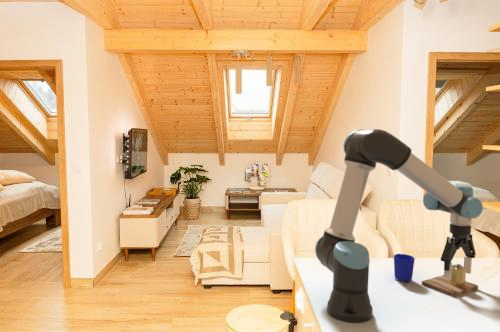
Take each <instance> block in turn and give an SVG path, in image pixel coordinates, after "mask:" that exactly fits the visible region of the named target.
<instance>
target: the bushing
mask: <svg viewBox="0 0 500 332" xmlns="http://www.w3.org/2000/svg"><path fill="white" fill-rule="evenodd" d="M455 266H456V264H452V275H451V279H450V281H449V282H450V284H452V285H454V286H461V287H462V286H465V281H466V275H467V273H466V268H465V267H464V265H461V269H460V268H455Z"/></svg>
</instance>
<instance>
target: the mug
mask: <svg viewBox="0 0 500 332" xmlns="http://www.w3.org/2000/svg"><path fill="white" fill-rule="evenodd" d="M415 260H416V259H415V257H414V256H413V255H410V254H403V253H397V254H394V255H393V268H394V269H393V270H394V279H396V280H397V281H399V282H403V283H404V282H405V283H407V282H411V281H412V279H413V275H414V267H415Z"/></svg>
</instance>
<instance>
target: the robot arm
mask: <svg viewBox="0 0 500 332" xmlns="http://www.w3.org/2000/svg"><path fill="white" fill-rule="evenodd" d="M343 152H344V154H345V156H344V159H343V162H344V164H345V165H346V168H345V171H344V175H343V179H342V182H341V185H340V190H339V193H338V196H337V197H338V198H337V200H336V204H335V207H334V211H333V215H332V218H331V221H330V222H331V223H330V224H329V225H330V226H329V227H327V228H325V229H324V231H323V235H322V236H321V237H319V239H318V240H317V241H316V243H315V246H314V247H315V249H314V251H315V252H314V253H315V255H316V258H317V260H318V261H319V262H320V264H321V265H322V266H323V267H325V268H327V269H328V270H329V271H330V272H331V273H332V274H333V277H332V280H333V281H332V291H331V293H330V296H329V299H328V301H327V304H326V305H327V309H326V310H327V313H328V315H330V316H331V317H333V318H334V319H336V320H339V321H343V322H347V323H363V322H367V321H370V320H371V319H372V317H373V305H372V304H371V299H370V296H369V274H370V272H369V271H370V269H369V268H370V252H369V250H368V248H367V247H366V246H365V245H363V244H361V243H360V242H359V243H357V242H355V241H356V238H355V236H354V234H353V232H354V230H355V229H354V228H355V226H356V222H357V218H358V215H359V212H360V208H361V204H362V201H363V197H364V193H365V190H366V186H367V182H368V179H369V176H370V173H371V172H372V171H374V170H375V169H376V165H377V164H381V165H384V166H385V167H386V168H388V169H390V170H392V171H397V172H399V173H400V174H401V175H403V176H405V178H407V179H409V180H410V181H411V182H413V183H414V184H415V185H416V186H418V187H419V188H420V189H422V190H424V191H425V192H424V194H423V198H422V199H423V200H422V203H423V206H424V207H425V209H426V210H427V211H428V210H429V211H441V212H444V213H448V214H450V216H449V217H450V218H449V222H450V223H449V233H451V234H452V235H451V237H450V236H447V237H446V242H445V245H444V248H443V251H442V254H441V256H440V261H442V262H443V275H444V278H447V279H451V275H452V265H453V262H452V260H453V259H454V257H455V255H456V253H457V251H458V250H460V248H461V249H462V251H463V253H464V255H465V256H464V257H463V267H465V268H466V274H470V275H471V273H472V261H473V259H475V257H476V255H477V253H476V250H475V245H474V241H473V234H472V220H473V219H476V218H478V217H480V216H481V214H482V212H483V203H482V201H481V200H480V199H479V198H477V197H474V189H473V187H472V186H470V185H464V184H463V185H461V184H458V185H455V184H453V183H451V182H450V181H449V180H448V179H446V178H445V177H444V176H443V175H441V174H440V173H438V172H437V171H436V170H435V169H433V168H432V167H430V166H429V165H428V164H427V163H425V161H423V160H421V159H420V158H419V157H417V156H416V155H415V154H413V152H412V148H411V147H410V146H408V145H407V144H406V143H405V142H403V141H402V140H401V139H399V138H397V137H396V136H395V135H393V134H392V133H390V132H388V131H386V130H384V129H379V128H378V129H377V128H374V129H365V128H363V129H358V130H354V131H352V132H351V133H349V134H348V135H347V136H346V138H345V139H344V143H343Z"/></svg>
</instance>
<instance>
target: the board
mask: <svg viewBox="0 0 500 332" xmlns="http://www.w3.org/2000/svg"><path fill="white" fill-rule="evenodd" d="M449 281H450V279H447V278H444V274H442V275H438V276H436V277H435V276H434V277H432V278H428V279H425V280H421V286H425V287H427V288H430V289H432V290H435V291H437V292H441V293H443V294H446V295H447V296H451V297H454V298H456V297H458V296H462V295H465V294H467V293H471V292H474V291H476V290H478V289H479V285H477V284H475V283H472V282H469V281H467V280H465V286H462V287H461V286H454V285H452V284H450V282H449Z"/></svg>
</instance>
